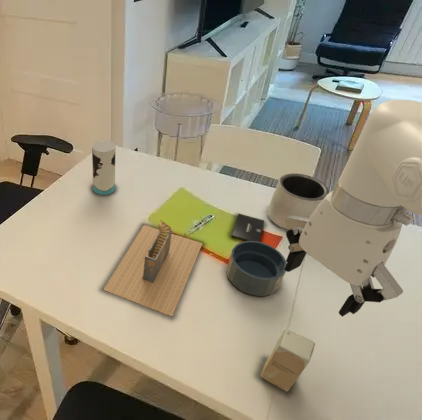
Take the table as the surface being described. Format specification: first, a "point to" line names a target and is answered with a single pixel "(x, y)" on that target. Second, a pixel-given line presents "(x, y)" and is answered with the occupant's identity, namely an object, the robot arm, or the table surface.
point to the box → (287, 359)
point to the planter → (296, 197)
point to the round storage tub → (256, 268)
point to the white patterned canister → (103, 167)
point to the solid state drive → (247, 228)
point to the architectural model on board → (155, 269)
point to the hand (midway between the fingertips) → (317, 288)
